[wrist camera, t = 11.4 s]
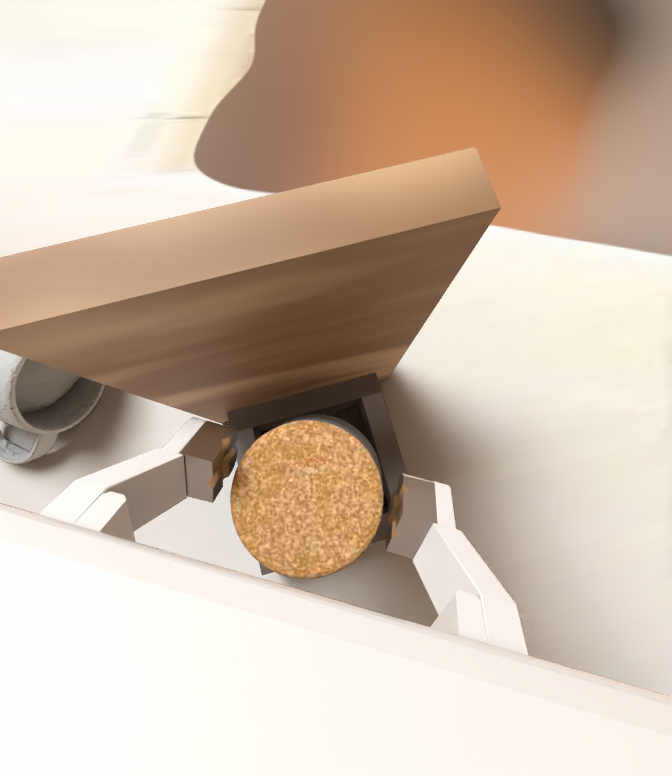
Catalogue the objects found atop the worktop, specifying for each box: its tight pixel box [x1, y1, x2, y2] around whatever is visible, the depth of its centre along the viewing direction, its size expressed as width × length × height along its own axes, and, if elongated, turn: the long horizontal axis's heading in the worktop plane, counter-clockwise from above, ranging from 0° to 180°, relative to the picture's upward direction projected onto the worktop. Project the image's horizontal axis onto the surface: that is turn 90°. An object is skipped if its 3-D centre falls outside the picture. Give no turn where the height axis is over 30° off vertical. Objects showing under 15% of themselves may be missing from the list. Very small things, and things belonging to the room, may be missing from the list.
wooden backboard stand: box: [0, 147, 501, 575], centre depth 18 cm, size 13×14×20 cm
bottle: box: [231, 414, 384, 579], centre depth 18 cm, size 6×6×15 cm
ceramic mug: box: [0, 350, 105, 464], centre depth 25 cm, size 11×8×8 cm
